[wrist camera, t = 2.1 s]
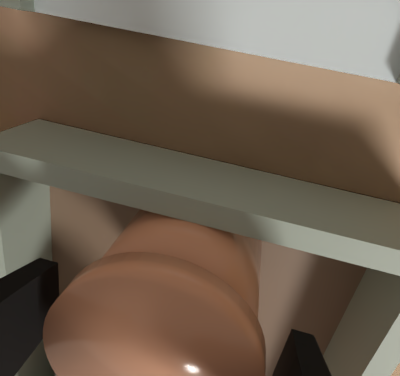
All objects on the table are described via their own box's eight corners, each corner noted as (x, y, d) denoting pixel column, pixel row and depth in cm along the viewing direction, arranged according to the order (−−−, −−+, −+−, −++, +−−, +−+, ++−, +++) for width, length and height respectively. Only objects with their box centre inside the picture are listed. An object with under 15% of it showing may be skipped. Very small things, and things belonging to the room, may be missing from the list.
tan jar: (249, 311, 15) (235, 466, 9) (125, 276, 15) (46, 403, 10) (286, 197, 12) (296, 322, 7) (135, 161, 13) (37, 248, 7)
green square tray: (288, 443, 19) (291, 523, 16) (51, 367, 21) (11, 425, 17) (414, 206, 12) (463, 266, 9) (38, 118, 14) (-32, 143, 10)
